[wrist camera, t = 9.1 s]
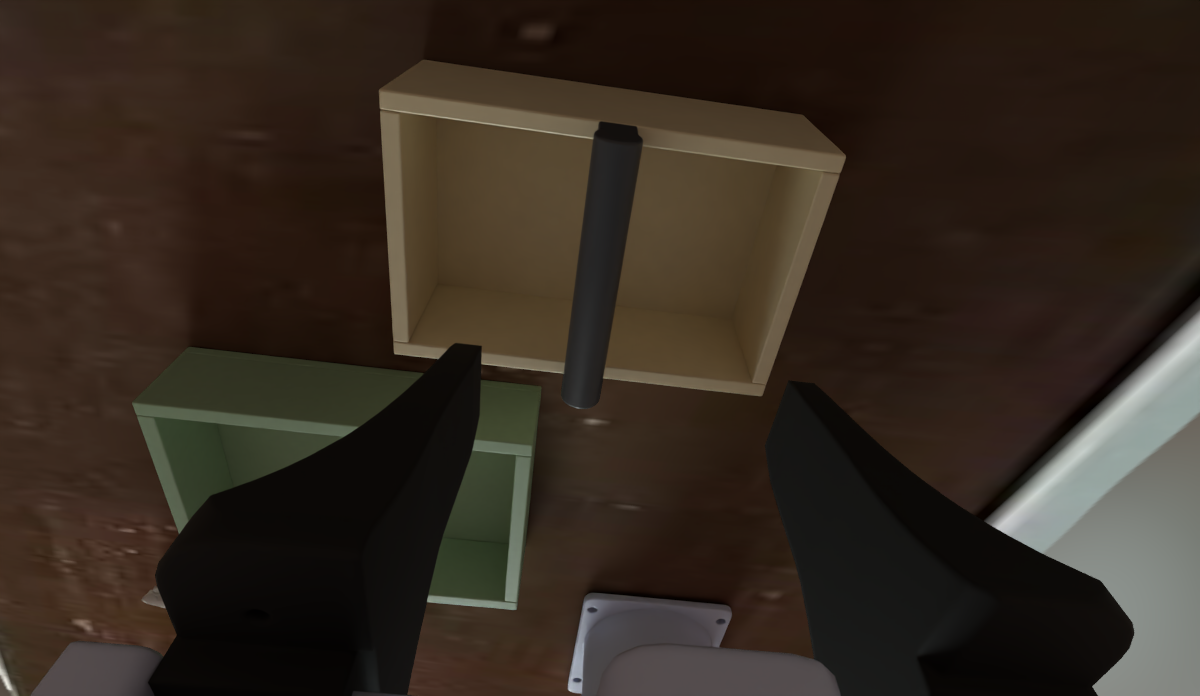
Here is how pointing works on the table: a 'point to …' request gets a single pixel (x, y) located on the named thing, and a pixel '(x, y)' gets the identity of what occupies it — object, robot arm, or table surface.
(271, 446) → the sage bin
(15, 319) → the table surface
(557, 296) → the cream bin
